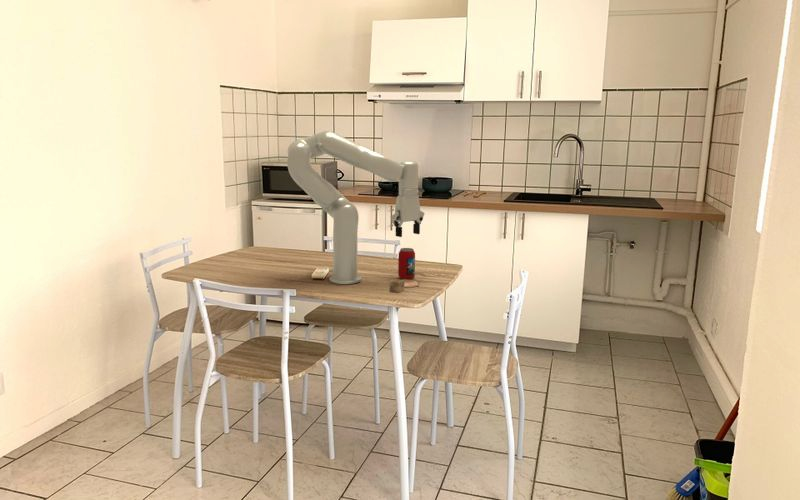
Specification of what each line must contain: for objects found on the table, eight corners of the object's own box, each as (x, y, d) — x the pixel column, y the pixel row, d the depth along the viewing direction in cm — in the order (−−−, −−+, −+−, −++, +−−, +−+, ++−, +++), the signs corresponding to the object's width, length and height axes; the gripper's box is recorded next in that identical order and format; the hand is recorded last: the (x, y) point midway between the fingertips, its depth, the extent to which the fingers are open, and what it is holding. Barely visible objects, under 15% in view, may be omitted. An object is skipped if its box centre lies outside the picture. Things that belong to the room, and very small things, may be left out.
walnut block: (389, 291, 222) (389, 281, 221) (394, 289, 226) (394, 279, 225) (399, 293, 220) (399, 282, 219) (404, 290, 224) (404, 280, 223)
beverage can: (413, 280, 238) (413, 251, 236) (396, 279, 240) (397, 250, 237) (416, 276, 245) (416, 248, 242) (399, 275, 246) (400, 247, 244)
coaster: (387, 283, 233) (387, 282, 233) (406, 279, 239) (406, 278, 239) (404, 289, 226) (404, 287, 225) (423, 284, 232) (423, 283, 232)
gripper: (417, 190, 243) (416, 231, 247) (385, 193, 232) (385, 236, 236) (430, 192, 238) (429, 234, 241) (398, 195, 227) (397, 239, 230)
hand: (407, 235), depth 239 cm, fingers open, 9 cm apart
